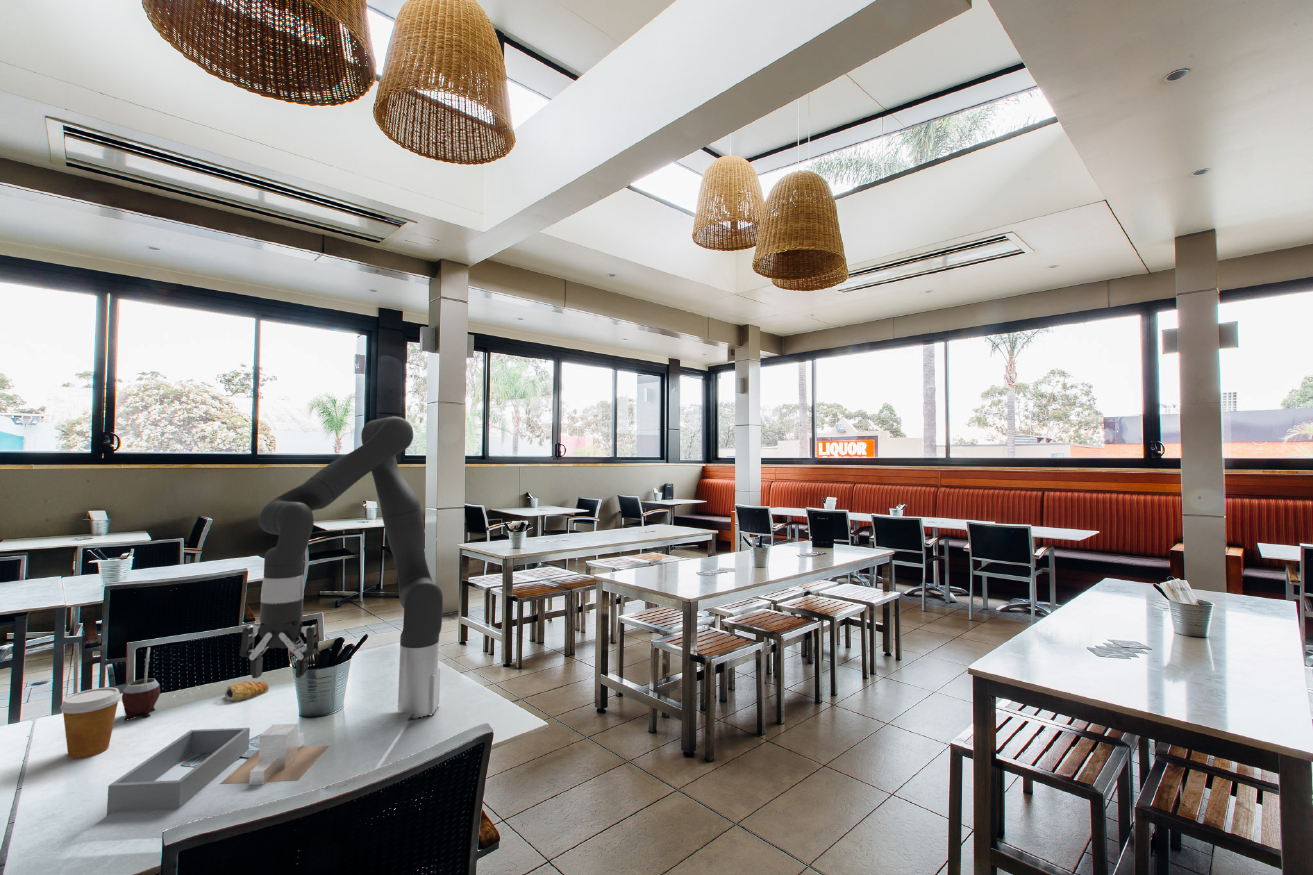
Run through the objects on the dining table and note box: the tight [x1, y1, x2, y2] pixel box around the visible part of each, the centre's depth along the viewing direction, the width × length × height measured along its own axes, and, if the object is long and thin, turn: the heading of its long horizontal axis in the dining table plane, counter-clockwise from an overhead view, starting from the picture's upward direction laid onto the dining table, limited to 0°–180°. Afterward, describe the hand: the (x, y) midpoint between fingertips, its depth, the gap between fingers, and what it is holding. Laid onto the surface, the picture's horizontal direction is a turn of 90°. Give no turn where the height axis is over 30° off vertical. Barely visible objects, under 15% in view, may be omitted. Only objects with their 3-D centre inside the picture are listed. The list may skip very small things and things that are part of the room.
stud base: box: [219, 745, 330, 785], centre depth 120 cm, size 14×14×6 cm
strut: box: [248, 723, 305, 786], centre depth 120 cm, size 16×5×7 cm, turn 7°
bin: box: [106, 727, 251, 816], centre depth 114 cm, size 22×12×6 cm, turn 7°
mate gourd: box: [121, 646, 161, 721], centre depth 145 cm, size 8×8×15 cm
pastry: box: [224, 680, 269, 702], centre depth 158 cm, size 9×7×4 cm
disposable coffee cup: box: [59, 687, 122, 760], centre depth 126 cm, size 10×10×12 cm
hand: (278, 676), depth 121 cm, fingers open, 8 cm apart
